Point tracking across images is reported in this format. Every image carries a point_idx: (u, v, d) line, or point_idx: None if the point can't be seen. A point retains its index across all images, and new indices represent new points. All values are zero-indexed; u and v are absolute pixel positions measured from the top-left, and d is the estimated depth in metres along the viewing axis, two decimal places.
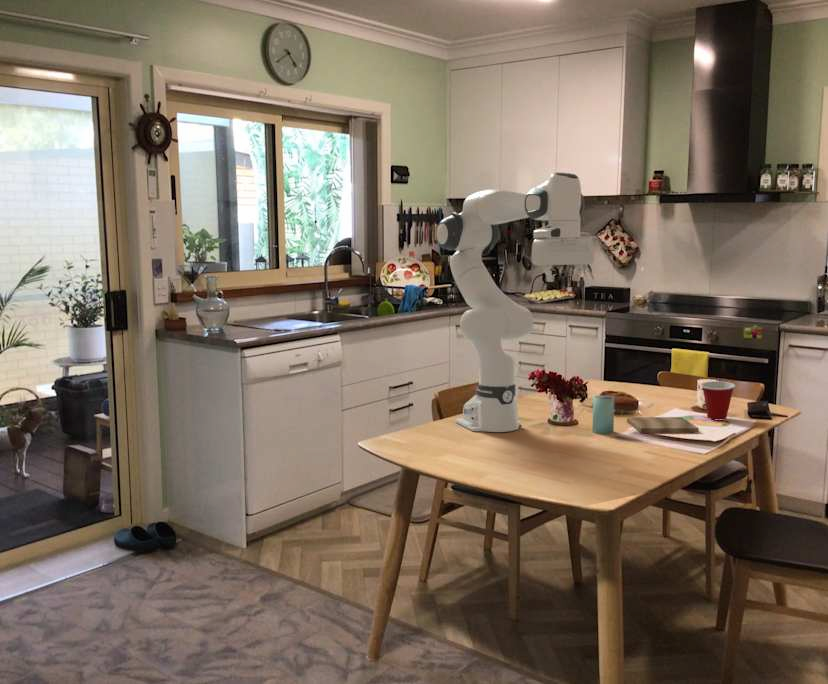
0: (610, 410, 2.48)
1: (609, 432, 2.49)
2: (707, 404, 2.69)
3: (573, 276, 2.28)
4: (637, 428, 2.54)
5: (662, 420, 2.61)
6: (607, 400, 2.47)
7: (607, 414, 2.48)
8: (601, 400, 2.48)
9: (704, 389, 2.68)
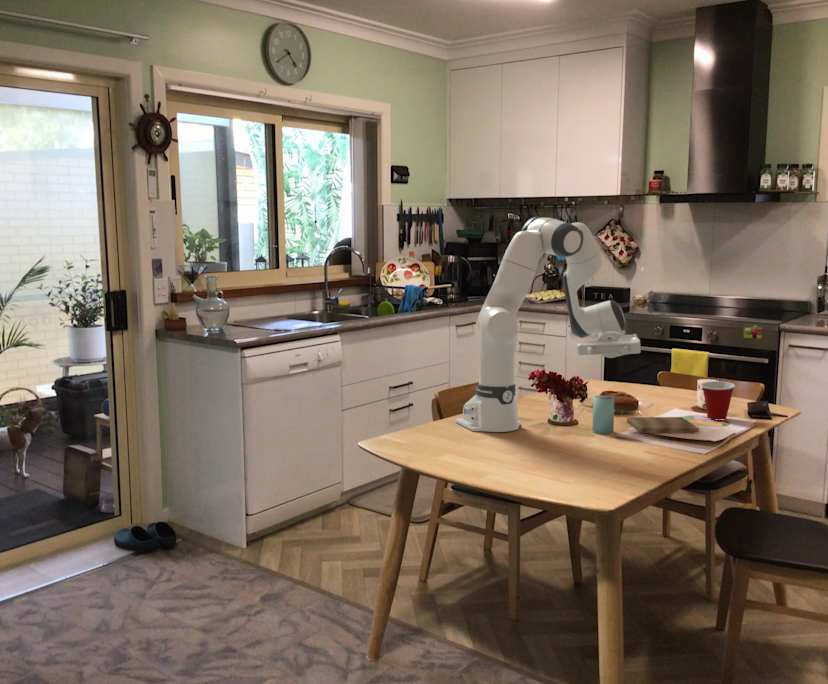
0: (610, 409, 2.48)
1: (609, 432, 2.49)
2: (707, 404, 2.69)
3: (593, 350, 2.59)
4: (637, 428, 2.54)
5: (662, 420, 2.61)
6: (607, 400, 2.47)
7: (607, 414, 2.48)
8: (601, 400, 2.48)
9: (704, 389, 2.68)
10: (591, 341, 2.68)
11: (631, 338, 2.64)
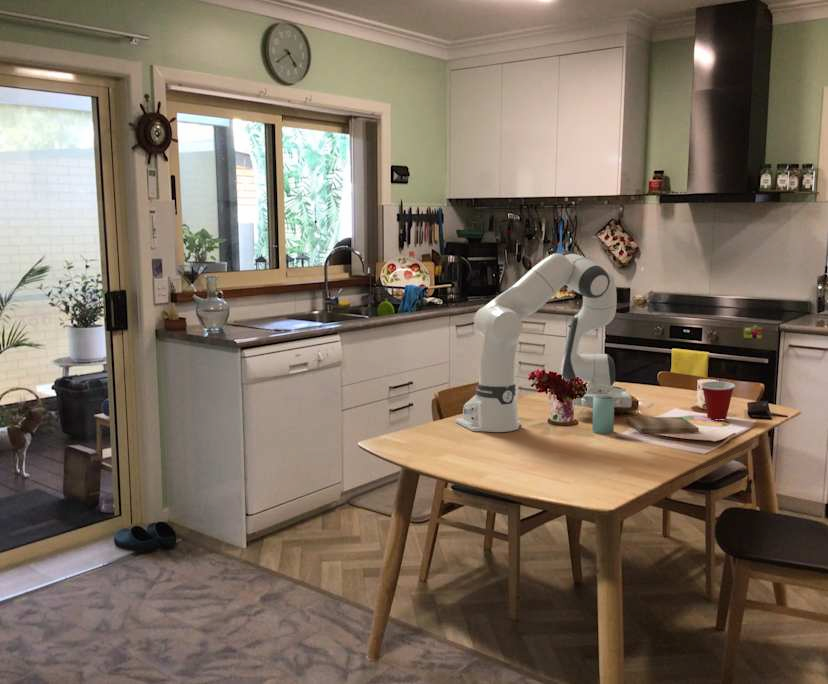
0: (610, 409, 2.48)
1: (609, 432, 2.49)
2: (707, 404, 2.69)
3: (588, 402, 2.64)
4: (637, 428, 2.54)
5: (662, 420, 2.61)
6: (607, 400, 2.47)
7: (607, 414, 2.48)
8: (601, 400, 2.48)
9: (704, 389, 2.68)
10: None
11: (621, 392, 2.71)
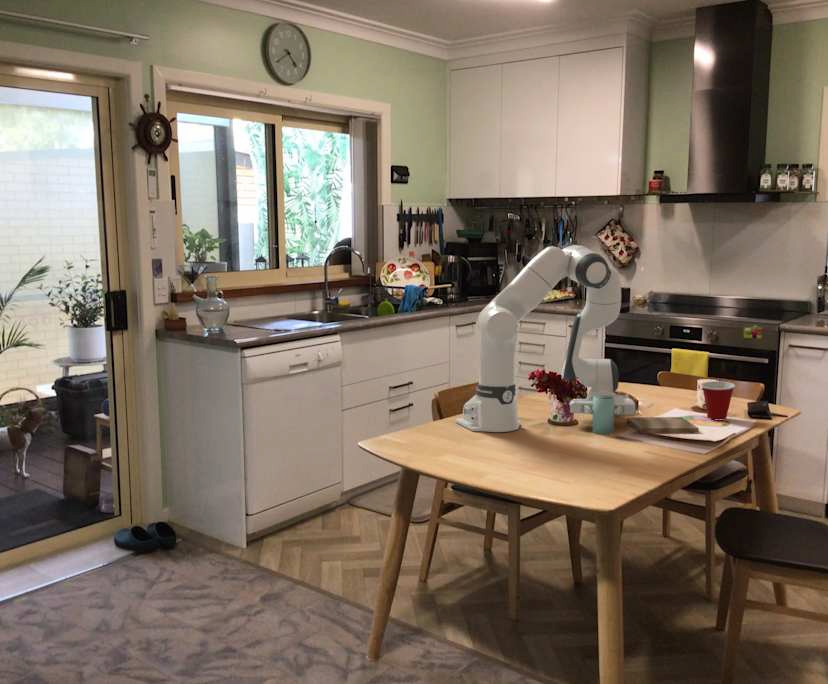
0: (610, 409, 2.48)
1: (609, 432, 2.49)
2: (707, 404, 2.69)
3: (592, 409, 2.52)
4: (637, 428, 2.54)
5: (662, 420, 2.61)
6: (607, 400, 2.47)
7: (607, 414, 2.48)
8: (601, 400, 2.48)
9: (704, 389, 2.68)
10: (583, 399, 2.61)
11: (624, 399, 2.59)
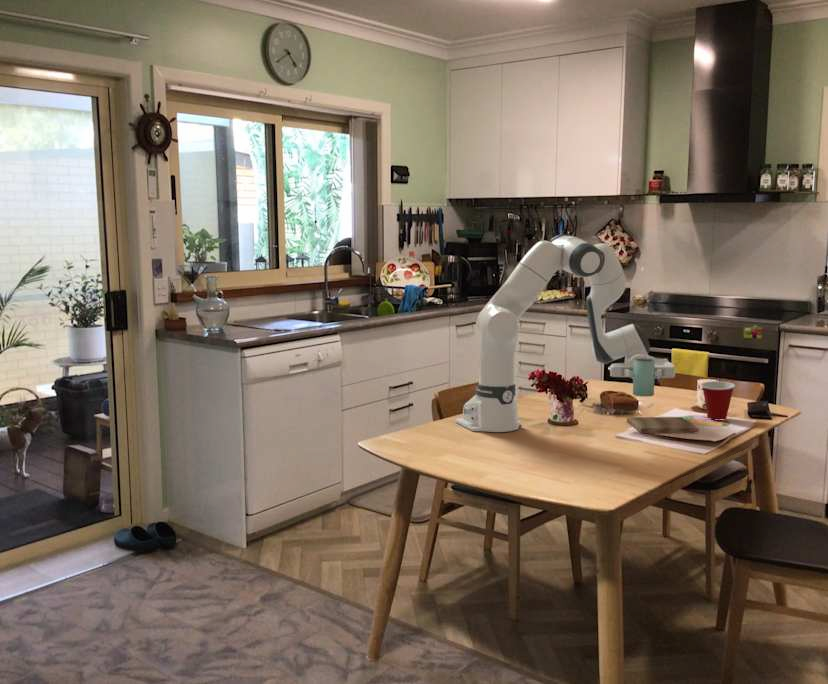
0: (651, 372, 2.51)
1: (650, 394, 2.51)
2: (707, 404, 2.69)
3: None
4: (637, 428, 2.54)
5: (662, 420, 2.61)
6: (648, 362, 2.50)
7: (648, 376, 2.50)
8: (642, 362, 2.50)
9: (704, 389, 2.68)
10: (622, 363, 2.64)
11: (663, 362, 2.62)
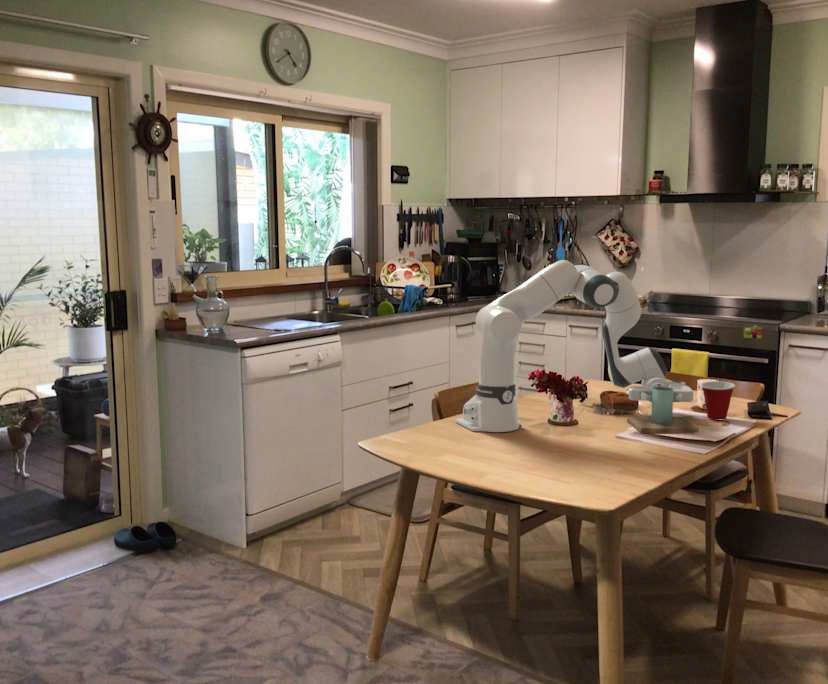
0: (670, 400, 2.54)
1: (668, 422, 2.55)
2: (707, 404, 2.69)
3: None
4: (637, 428, 2.54)
5: None
6: (667, 391, 2.53)
7: (667, 405, 2.54)
8: (661, 391, 2.54)
9: (704, 389, 2.68)
10: (641, 386, 2.67)
11: (681, 386, 2.65)
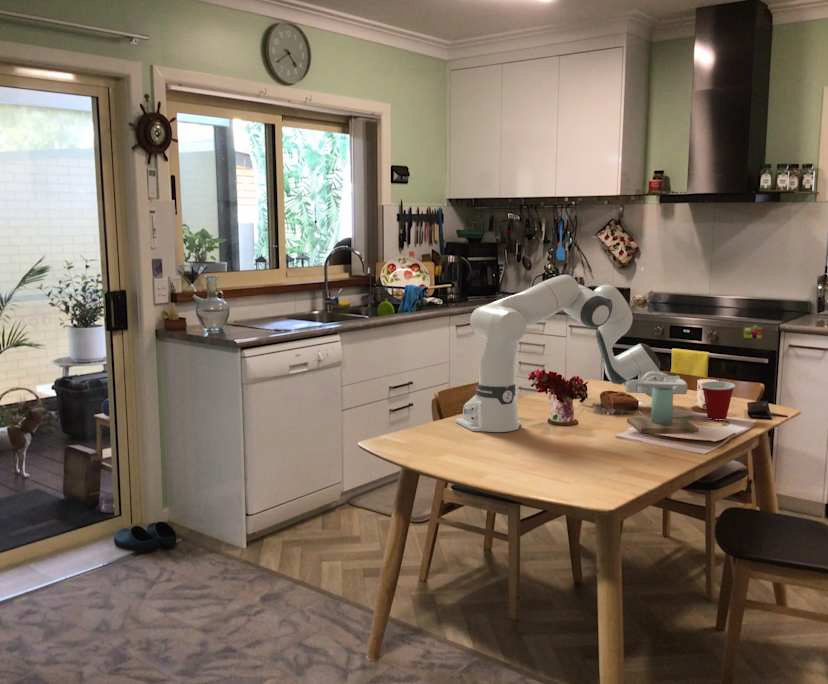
0: (670, 400, 2.54)
1: (668, 422, 2.55)
2: (707, 404, 2.69)
3: None
4: (637, 428, 2.54)
5: None
6: (667, 391, 2.54)
7: (667, 405, 2.54)
8: (661, 391, 2.54)
9: (704, 389, 2.68)
10: (637, 380, 2.80)
11: (676, 379, 2.78)
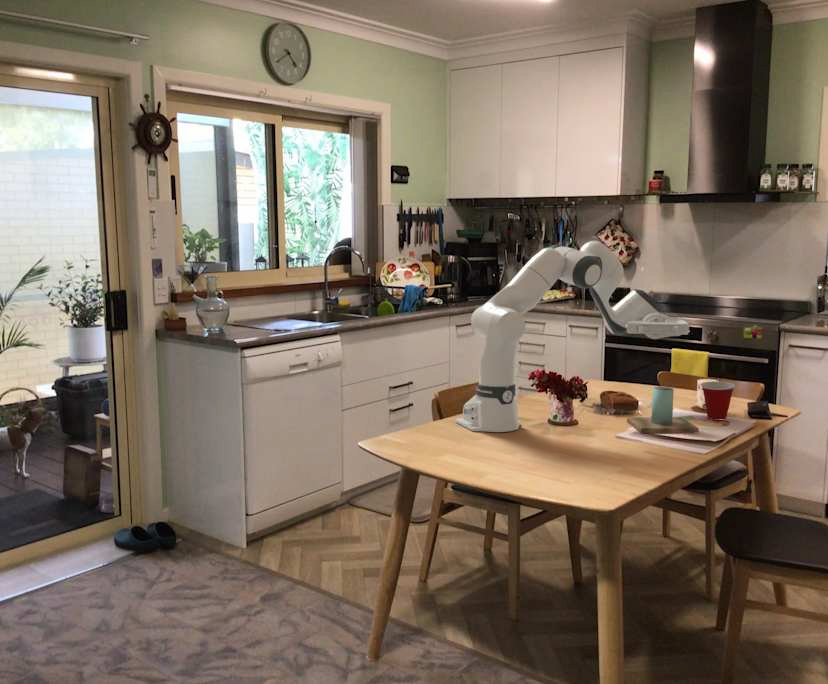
0: (670, 400, 2.54)
1: (668, 422, 2.55)
2: (707, 404, 2.69)
3: (646, 328, 2.68)
4: (637, 428, 2.54)
5: None
6: (667, 391, 2.53)
7: (667, 405, 2.54)
8: (661, 391, 2.54)
9: (704, 389, 2.68)
10: (638, 321, 2.77)
11: (677, 320, 2.75)
